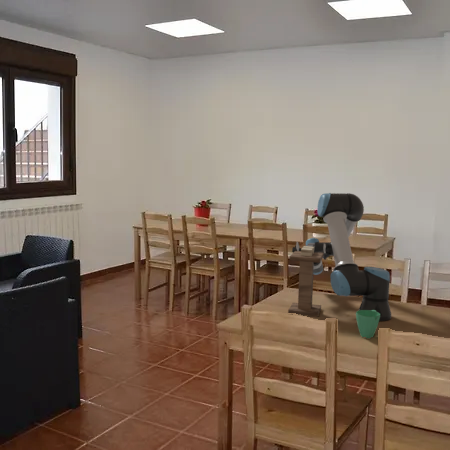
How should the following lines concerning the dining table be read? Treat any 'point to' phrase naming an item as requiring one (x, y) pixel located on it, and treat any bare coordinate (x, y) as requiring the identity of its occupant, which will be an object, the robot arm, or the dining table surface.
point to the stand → (306, 284)
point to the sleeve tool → (308, 249)
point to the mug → (367, 322)
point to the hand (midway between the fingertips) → (310, 245)
